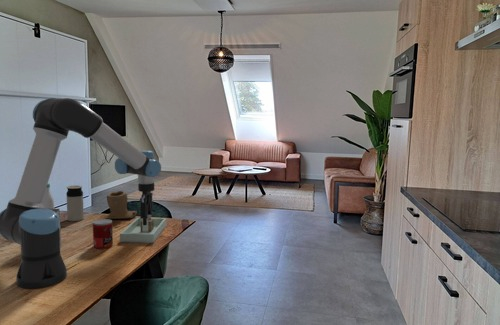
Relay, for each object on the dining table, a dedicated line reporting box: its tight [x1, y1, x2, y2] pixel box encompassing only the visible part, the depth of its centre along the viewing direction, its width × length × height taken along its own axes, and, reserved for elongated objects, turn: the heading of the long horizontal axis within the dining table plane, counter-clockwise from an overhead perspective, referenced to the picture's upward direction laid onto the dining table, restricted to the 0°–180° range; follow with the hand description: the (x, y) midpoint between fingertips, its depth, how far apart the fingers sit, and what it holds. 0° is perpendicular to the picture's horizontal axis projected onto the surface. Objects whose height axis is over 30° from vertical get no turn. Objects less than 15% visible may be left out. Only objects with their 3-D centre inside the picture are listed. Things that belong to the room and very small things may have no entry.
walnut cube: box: [140, 219, 154, 232], centre depth 181 cm, size 5×5×5 cm
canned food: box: [92, 218, 114, 250], centre depth 160 cm, size 8×8×11 cm
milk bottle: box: [42, 183, 55, 209], centre depth 192 cm, size 8×8×20 cm
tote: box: [119, 217, 168, 244], centre depth 178 cm, size 26×15×4 cm, turn 0°
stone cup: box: [106, 190, 138, 220], centre depth 202 cm, size 15×12×15 cm
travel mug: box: [65, 184, 85, 222], centre depth 198 cm, size 8×8×18 cm
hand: (147, 229), depth 182 cm, fingers closed on walnut cube, 5 cm apart
